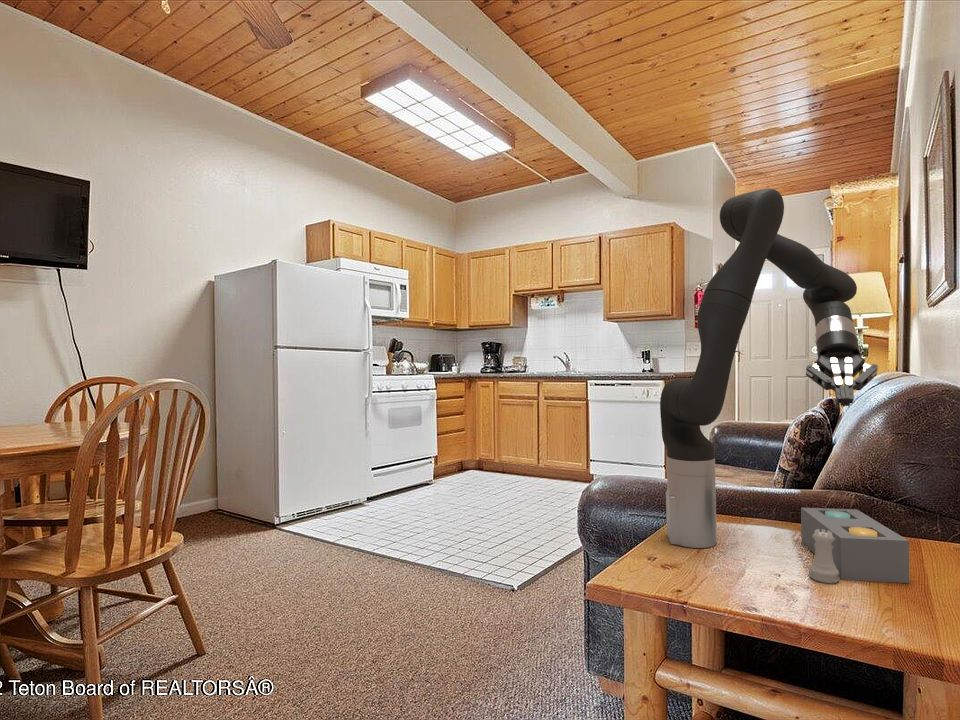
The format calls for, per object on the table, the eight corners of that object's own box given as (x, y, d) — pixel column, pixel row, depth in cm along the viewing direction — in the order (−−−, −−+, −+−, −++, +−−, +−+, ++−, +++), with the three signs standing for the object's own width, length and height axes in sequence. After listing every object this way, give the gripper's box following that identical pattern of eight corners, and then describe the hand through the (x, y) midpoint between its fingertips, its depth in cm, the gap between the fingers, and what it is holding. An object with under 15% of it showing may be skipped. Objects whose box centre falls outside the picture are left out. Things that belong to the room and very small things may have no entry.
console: (841, 579, 91) (840, 538, 91) (801, 542, 108) (800, 507, 108) (909, 583, 89) (908, 540, 89) (857, 544, 106) (856, 509, 106)
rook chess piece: (846, 584, 89) (845, 535, 89) (819, 584, 89) (818, 536, 89) (828, 573, 94) (827, 527, 94) (802, 573, 94) (802, 527, 93)
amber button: (855, 554, 92) (855, 534, 92) (844, 546, 96) (844, 526, 96) (882, 555, 91) (881, 535, 91) (870, 547, 95) (870, 527, 95)
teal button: (830, 534, 102) (830, 516, 102) (821, 528, 106) (821, 510, 106) (854, 535, 101) (854, 517, 101) (844, 529, 105) (844, 511, 105)
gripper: (801, 330, 118) (807, 390, 107) (876, 327, 112) (890, 391, 101) (800, 354, 123) (805, 414, 112) (871, 352, 117) (884, 416, 106)
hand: (845, 403), depth 106 cm, fingers closed
